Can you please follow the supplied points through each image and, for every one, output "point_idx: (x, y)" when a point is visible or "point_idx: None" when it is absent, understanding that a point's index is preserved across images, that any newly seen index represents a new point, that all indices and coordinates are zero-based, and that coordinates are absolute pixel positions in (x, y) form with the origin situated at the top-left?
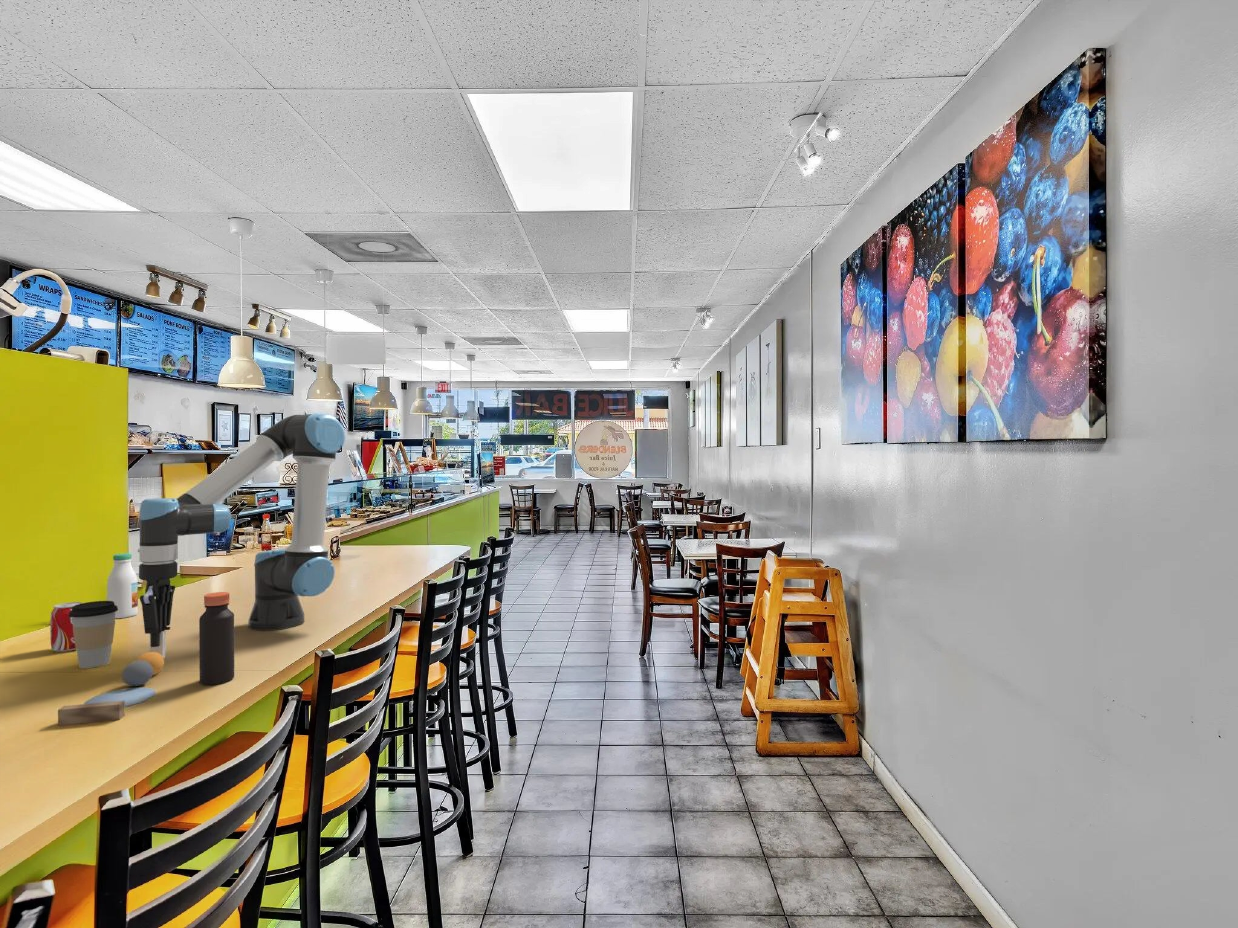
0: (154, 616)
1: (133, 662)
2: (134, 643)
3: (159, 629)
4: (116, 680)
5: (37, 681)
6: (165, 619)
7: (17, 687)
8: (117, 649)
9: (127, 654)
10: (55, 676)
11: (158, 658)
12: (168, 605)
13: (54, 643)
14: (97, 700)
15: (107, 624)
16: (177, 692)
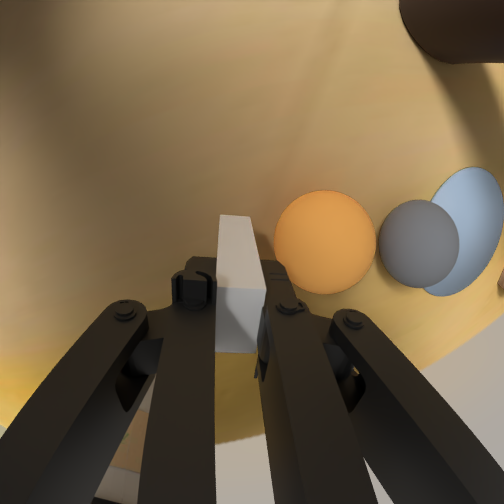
0: (448, 409)
1: (443, 274)
2: (4, 347)
3: (309, 318)
4: (317, 301)
5: (244, 421)
6: (199, 359)
7: None
8: (40, 368)
9: (66, 347)
10: (219, 413)
11: (359, 214)
12: (61, 462)
13: None
14: (454, 276)
15: (139, 472)
16: (482, 117)
